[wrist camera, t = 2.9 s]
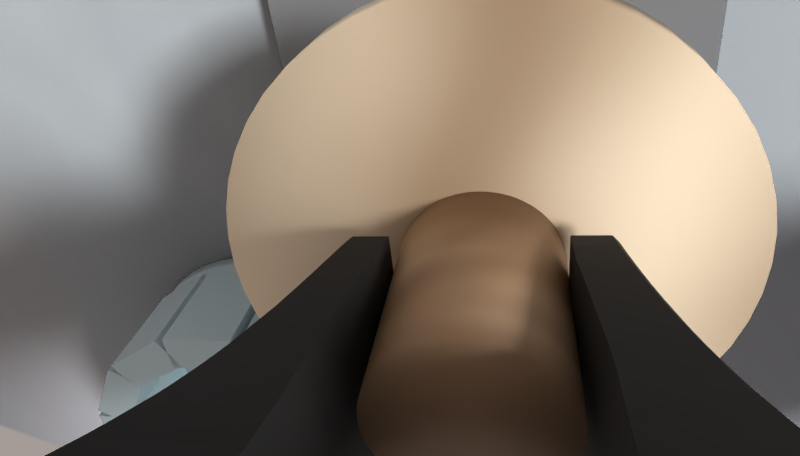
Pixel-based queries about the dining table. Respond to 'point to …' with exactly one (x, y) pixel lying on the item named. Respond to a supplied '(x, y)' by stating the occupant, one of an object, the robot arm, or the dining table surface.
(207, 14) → the dining table surface
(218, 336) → the bowl
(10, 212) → the dining table surface
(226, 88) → the dining table surface
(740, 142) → the lid
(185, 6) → the dining table surface
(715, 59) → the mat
